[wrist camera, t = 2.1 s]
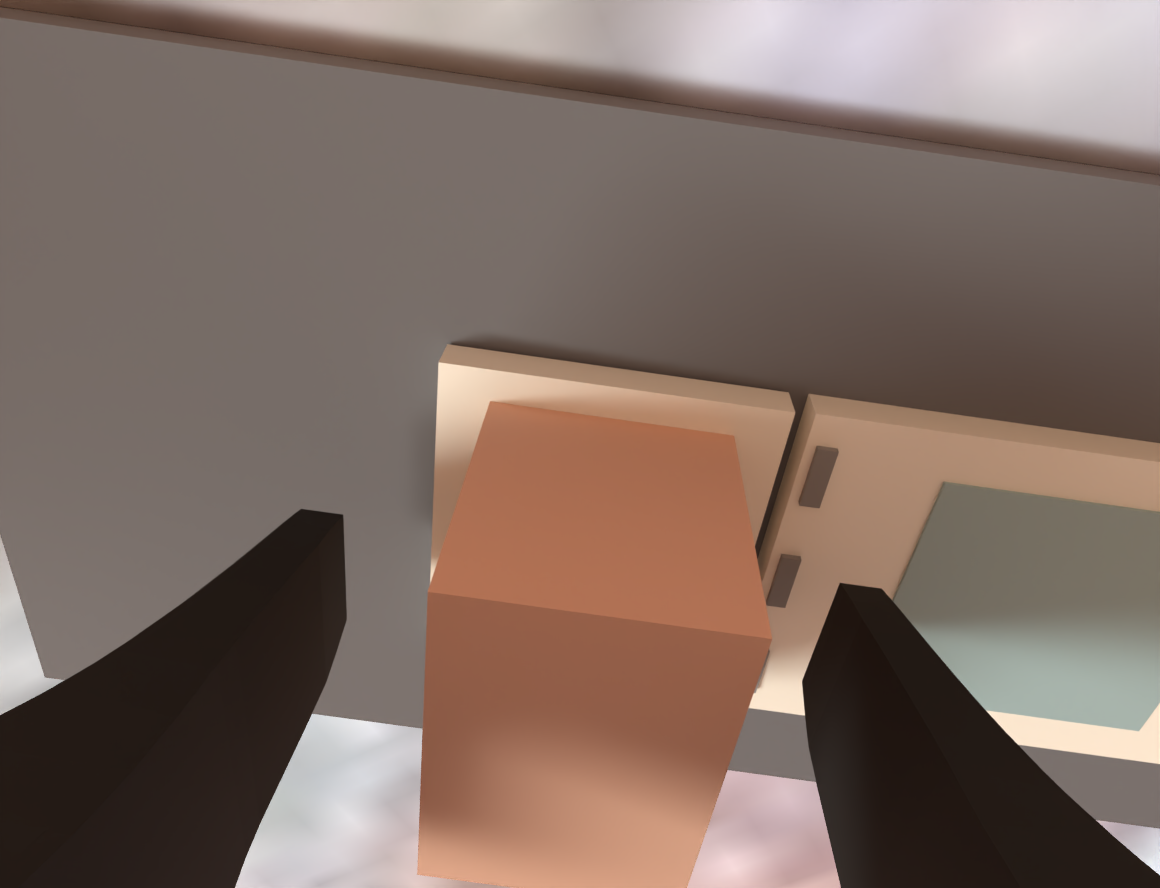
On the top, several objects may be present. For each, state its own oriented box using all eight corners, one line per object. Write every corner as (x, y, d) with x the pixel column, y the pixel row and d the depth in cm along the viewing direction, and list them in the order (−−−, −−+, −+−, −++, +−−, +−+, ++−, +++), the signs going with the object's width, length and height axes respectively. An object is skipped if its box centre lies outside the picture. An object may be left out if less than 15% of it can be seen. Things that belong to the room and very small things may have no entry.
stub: (788, 392, 12) (861, 612, 8) (704, 679, 15) (727, 936, 11) (447, 343, 12) (352, 542, 8) (433, 641, 15) (361, 888, 11)
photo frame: (1346, 469, 12) (1382, 496, 12) (1147, 737, 15) (1168, 769, 15) (809, 393, 12) (817, 417, 11) (720, 678, 15) (724, 708, 15)
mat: (1610, 239, 11) (1674, 259, 10) (1164, 796, 17) (1184, 831, 17) (-117, -11, 11) (-169, -7, 10) (69, 647, 17) (44, 677, 16)
